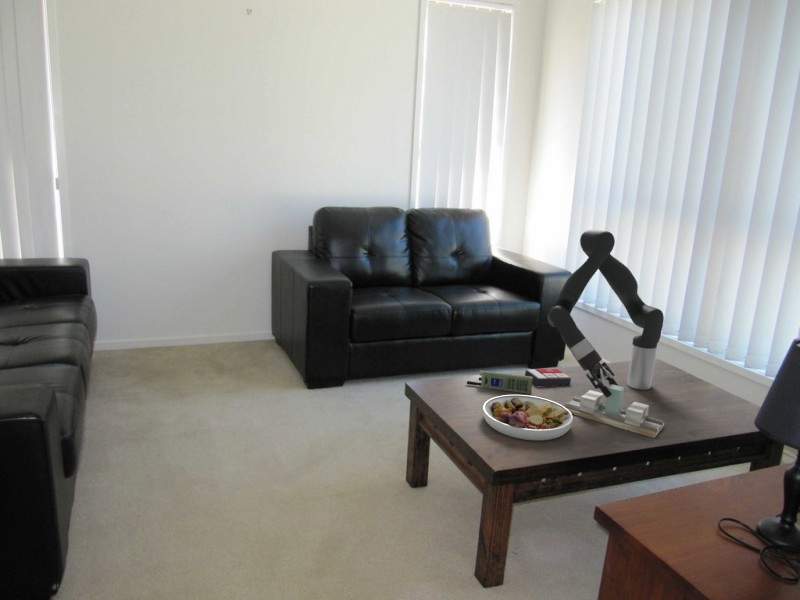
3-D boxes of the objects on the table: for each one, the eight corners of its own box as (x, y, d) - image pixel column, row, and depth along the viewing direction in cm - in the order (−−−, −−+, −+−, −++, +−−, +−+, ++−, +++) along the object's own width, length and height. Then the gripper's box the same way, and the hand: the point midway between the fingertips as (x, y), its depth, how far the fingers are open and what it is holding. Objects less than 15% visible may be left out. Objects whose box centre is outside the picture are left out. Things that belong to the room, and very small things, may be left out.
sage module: (608, 410, 225) (611, 384, 223) (621, 414, 223) (624, 387, 221) (604, 414, 222) (607, 387, 220) (617, 417, 219) (620, 390, 217)
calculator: (571, 377, 254) (538, 377, 249) (570, 387, 255) (536, 387, 250) (557, 367, 264) (525, 368, 259) (556, 377, 265) (524, 378, 260)
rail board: (575, 401, 237) (577, 385, 235) (664, 426, 218) (666, 408, 217) (562, 411, 227) (564, 393, 226) (654, 437, 209) (657, 419, 207)
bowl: (497, 401, 235) (499, 381, 233) (579, 419, 222) (581, 398, 220) (469, 431, 208) (471, 408, 207) (560, 453, 196) (563, 429, 194)
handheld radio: (531, 395, 242) (466, 387, 247) (531, 392, 245) (467, 384, 250) (532, 378, 241) (467, 370, 246) (532, 376, 244) (468, 368, 249)
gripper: (586, 353, 217) (615, 393, 213) (600, 344, 228) (628, 382, 224) (569, 364, 221) (598, 403, 217) (584, 355, 233) (611, 392, 229)
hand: (613, 392), depth 221 cm, fingers open, 8 cm apart
